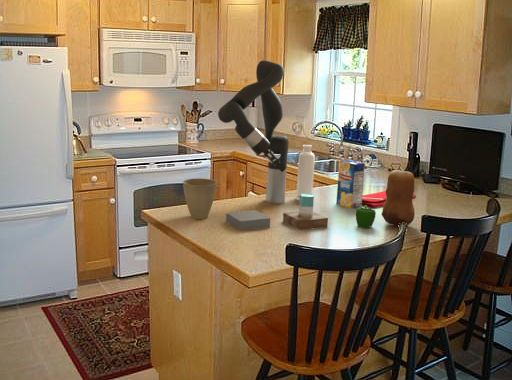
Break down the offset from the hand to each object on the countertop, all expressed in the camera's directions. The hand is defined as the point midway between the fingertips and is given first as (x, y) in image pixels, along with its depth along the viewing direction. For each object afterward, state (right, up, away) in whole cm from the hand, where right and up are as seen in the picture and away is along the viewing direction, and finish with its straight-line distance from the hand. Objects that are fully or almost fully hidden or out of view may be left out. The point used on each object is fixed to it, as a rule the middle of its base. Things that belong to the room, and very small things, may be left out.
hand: (281, 168), depth 246 cm
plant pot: (-36, -21, +11) cm, 43 cm away
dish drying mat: (+56, -15, +59) cm, 83 cm away
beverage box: (+35, -17, +45) cm, 59 cm away
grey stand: (-15, -24, +3) cm, 28 cm away
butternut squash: (+51, -25, +11) cm, 58 cm away
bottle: (+14, -14, +53) cm, 57 cm away
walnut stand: (+10, -24, +7) cm, 27 cm away
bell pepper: (+36, -25, +7) cm, 45 cm away
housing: (+11, -20, +6) cm, 23 cm away
